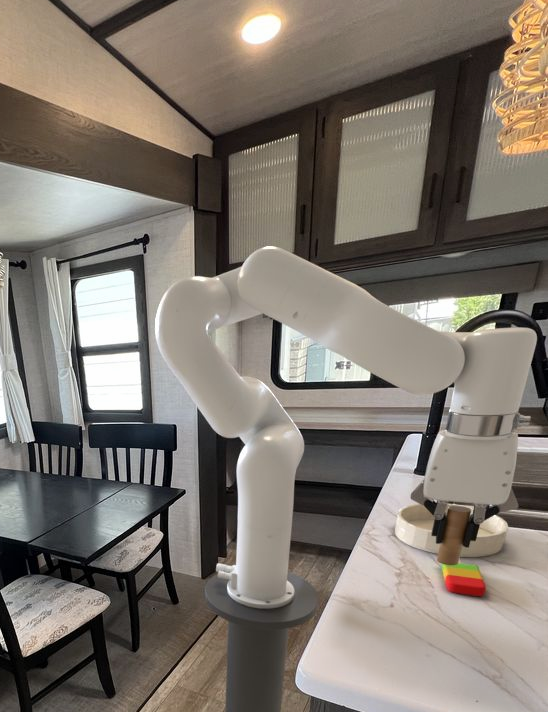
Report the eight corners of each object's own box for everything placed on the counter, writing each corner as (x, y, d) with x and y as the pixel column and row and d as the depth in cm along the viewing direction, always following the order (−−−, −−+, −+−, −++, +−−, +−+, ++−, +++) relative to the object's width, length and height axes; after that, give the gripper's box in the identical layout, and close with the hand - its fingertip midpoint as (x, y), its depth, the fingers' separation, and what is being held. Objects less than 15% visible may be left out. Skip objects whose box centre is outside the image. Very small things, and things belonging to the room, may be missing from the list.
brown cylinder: (436, 563, 74) (448, 510, 70) (436, 556, 76) (448, 504, 72) (458, 566, 72) (471, 513, 69) (457, 559, 74) (470, 506, 71)
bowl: (391, 547, 100) (395, 528, 99) (397, 516, 115) (400, 499, 113) (506, 564, 90) (513, 543, 88) (497, 527, 105) (503, 509, 103)
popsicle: (446, 592, 83) (449, 583, 83) (437, 556, 95) (439, 548, 95) (485, 598, 81) (488, 589, 80) (471, 560, 93) (473, 552, 92)
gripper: (552, 419, 64) (516, 541, 71) (411, 418, 73) (392, 526, 80) (563, 431, 58) (523, 561, 66) (409, 428, 67) (389, 543, 74)
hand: (451, 541), depth 73 cm, fingers closed on brown cylinder, 2 cm apart
